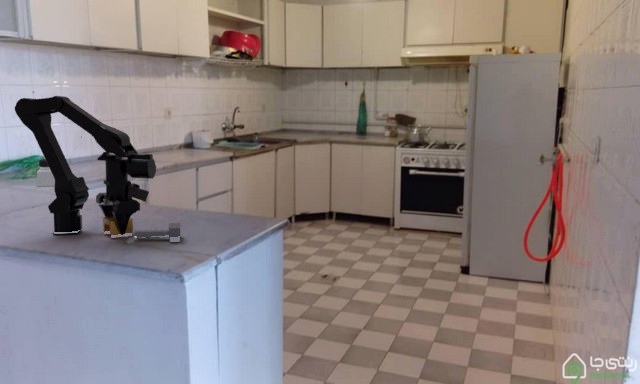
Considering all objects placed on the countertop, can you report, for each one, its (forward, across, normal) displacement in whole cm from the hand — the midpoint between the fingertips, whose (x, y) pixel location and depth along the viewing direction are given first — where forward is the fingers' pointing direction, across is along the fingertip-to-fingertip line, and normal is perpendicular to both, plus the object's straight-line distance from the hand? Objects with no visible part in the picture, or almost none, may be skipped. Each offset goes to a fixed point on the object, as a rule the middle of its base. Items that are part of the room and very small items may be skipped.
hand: (117, 231), depth 144 cm
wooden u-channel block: (+1, 0, 0) cm, 1 cm away
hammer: (+1, -11, -7) cm, 13 cm away
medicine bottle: (+1, +112, -7) cm, 112 cm away
